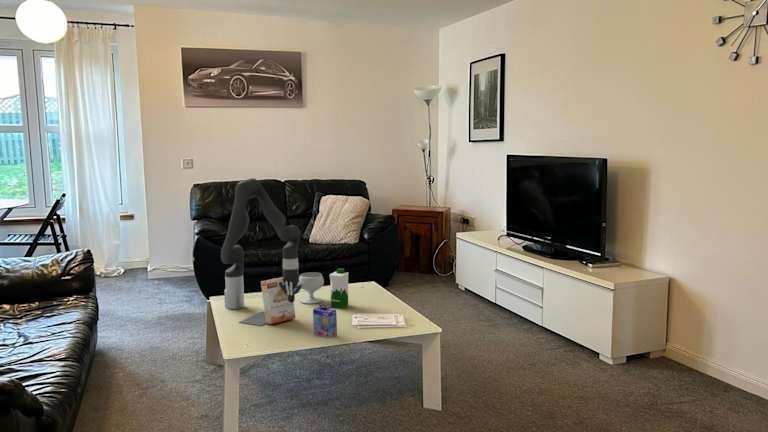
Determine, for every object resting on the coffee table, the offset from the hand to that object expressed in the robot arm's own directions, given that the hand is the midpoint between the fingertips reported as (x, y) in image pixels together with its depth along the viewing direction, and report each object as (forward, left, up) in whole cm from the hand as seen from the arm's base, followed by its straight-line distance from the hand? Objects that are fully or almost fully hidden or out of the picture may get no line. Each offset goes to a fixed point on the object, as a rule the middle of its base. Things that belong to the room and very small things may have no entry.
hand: (291, 302), depth 276 cm
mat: (-18, 0, -11) cm, 21 cm away
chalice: (-11, +37, -11) cm, 40 cm away
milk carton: (+8, +34, -11) cm, 36 cm away
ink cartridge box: (+23, -8, -11) cm, 27 cm away
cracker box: (-6, 0, -10) cm, 12 cm away
